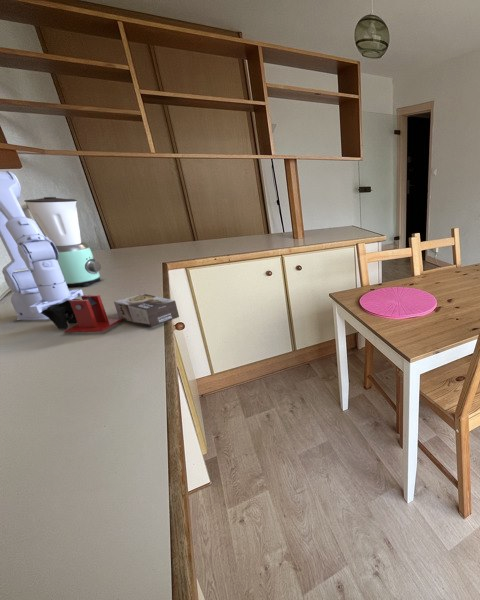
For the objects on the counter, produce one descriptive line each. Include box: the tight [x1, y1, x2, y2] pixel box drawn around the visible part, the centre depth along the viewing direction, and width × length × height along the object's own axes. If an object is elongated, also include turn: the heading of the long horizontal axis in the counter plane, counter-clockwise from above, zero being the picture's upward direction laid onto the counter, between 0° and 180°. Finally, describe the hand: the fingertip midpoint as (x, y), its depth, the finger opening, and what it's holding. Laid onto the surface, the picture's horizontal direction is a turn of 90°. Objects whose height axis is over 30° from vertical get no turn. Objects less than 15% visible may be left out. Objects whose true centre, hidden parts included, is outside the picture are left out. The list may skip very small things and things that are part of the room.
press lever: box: [65, 297, 97, 321], centre depth 93 cm, size 11×3×3 cm, turn 96°
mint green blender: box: [20, 196, 102, 288], centre depth 126 cm, size 19×13×35 cm
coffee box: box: [113, 293, 180, 328], centre depth 101 cm, size 9×6×16 cm
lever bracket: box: [64, 294, 123, 334], centre depth 94 cm, size 10×8×10 cm
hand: (68, 325), depth 94 cm, fingers closed on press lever, 3 cm apart
